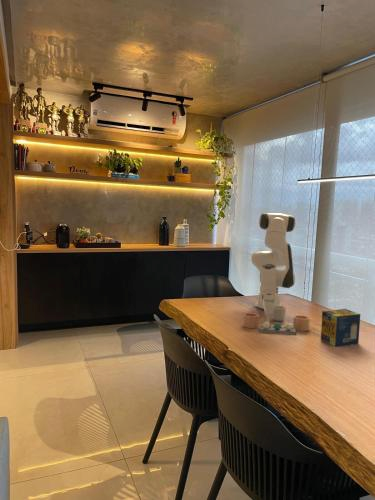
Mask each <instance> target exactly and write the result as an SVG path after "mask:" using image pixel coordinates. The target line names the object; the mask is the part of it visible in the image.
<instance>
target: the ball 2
mask: <svg viewBox="0 0 375 500" xmlns="http://www.w3.org/2000/svg"><path fill="white" fill-rule="evenodd" d="M273 326H274V328H275V329H277V330H278V329H280V328H281V327H282V324H281V322H280V321H276V322H274V324H273Z"/></svg>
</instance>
